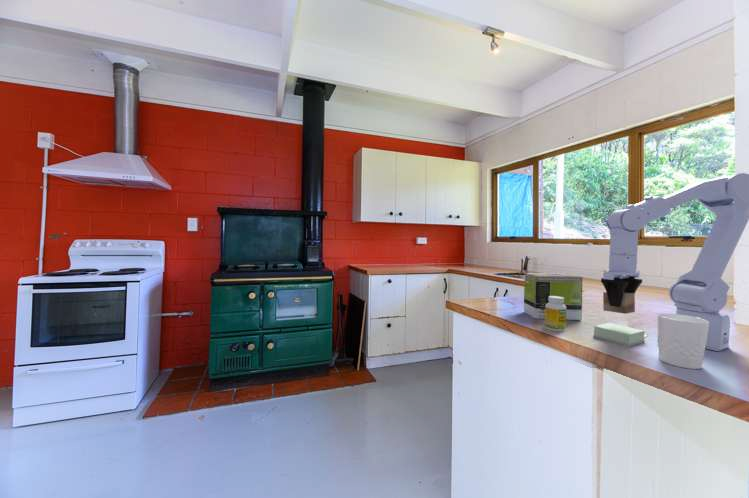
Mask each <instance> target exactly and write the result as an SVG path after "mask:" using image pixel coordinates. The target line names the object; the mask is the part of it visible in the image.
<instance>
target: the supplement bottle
mask: <svg viewBox="0 0 749 498" xmlns="http://www.w3.org/2000/svg"><path fill="white" fill-rule="evenodd" d="M548 301H549V303H547V304H546V307H545V319H544V328H545V329H546V330H549V331H554V332H565V331H566V325H567V323H566V322H567V320H566V306H565V305H564V304H563V303H564V298H563V297H559V296H549V297H548Z"/></svg>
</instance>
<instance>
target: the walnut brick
mask: <svg viewBox="0 0 749 498" xmlns="http://www.w3.org/2000/svg"><path fill="white" fill-rule="evenodd" d="M602 293H603V295H602V296H603V297H602V299H603V300H602V301H603V304H602V305H603V306H602V309H603V311H605V312H612V313H619V314H631V313H635V312H636V307H635V305H636V298H635V295H636V292H635V293H628V292H624V293H623V298H622V303H621V305H620V307H616V306H610V304H609V300H608V296H607V292H606V291H603V292H602Z"/></svg>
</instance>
